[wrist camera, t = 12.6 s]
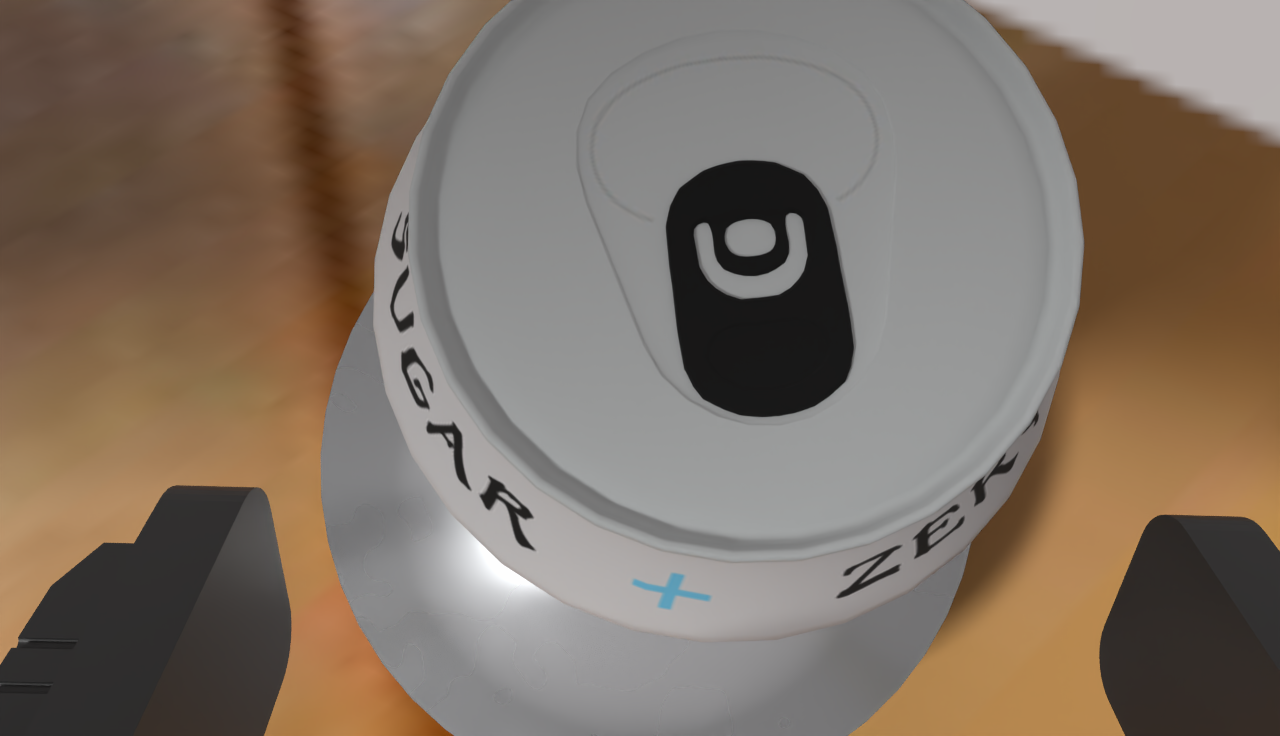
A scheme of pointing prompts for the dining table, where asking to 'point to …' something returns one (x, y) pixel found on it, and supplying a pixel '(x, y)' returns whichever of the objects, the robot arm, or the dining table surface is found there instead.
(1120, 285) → the dining table surface
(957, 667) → the dining table surface
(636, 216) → the energy drink can
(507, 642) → the stand
